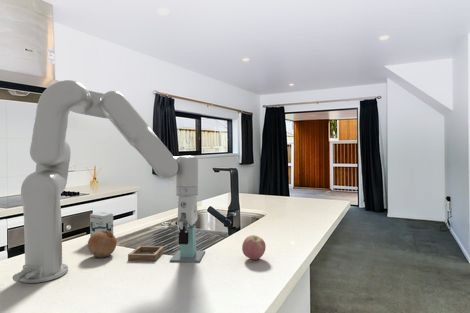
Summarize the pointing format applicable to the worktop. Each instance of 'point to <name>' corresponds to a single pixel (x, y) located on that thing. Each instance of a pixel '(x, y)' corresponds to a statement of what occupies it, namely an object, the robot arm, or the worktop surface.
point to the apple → (253, 247)
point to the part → (189, 243)
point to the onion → (102, 244)
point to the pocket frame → (146, 257)
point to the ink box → (101, 222)
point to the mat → (196, 257)
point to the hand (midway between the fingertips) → (187, 239)
